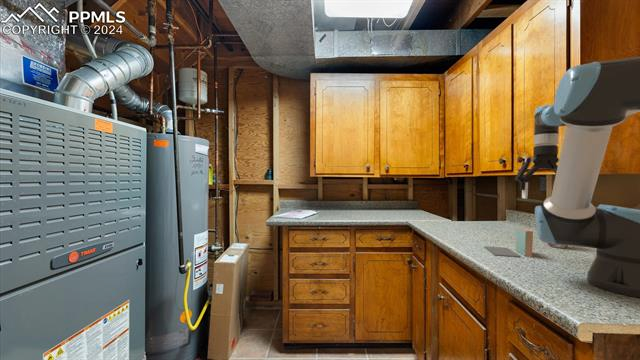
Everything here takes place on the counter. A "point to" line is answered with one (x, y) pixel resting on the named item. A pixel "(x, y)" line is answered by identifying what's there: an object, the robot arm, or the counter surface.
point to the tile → (524, 241)
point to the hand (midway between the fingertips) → (543, 199)
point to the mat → (502, 251)
